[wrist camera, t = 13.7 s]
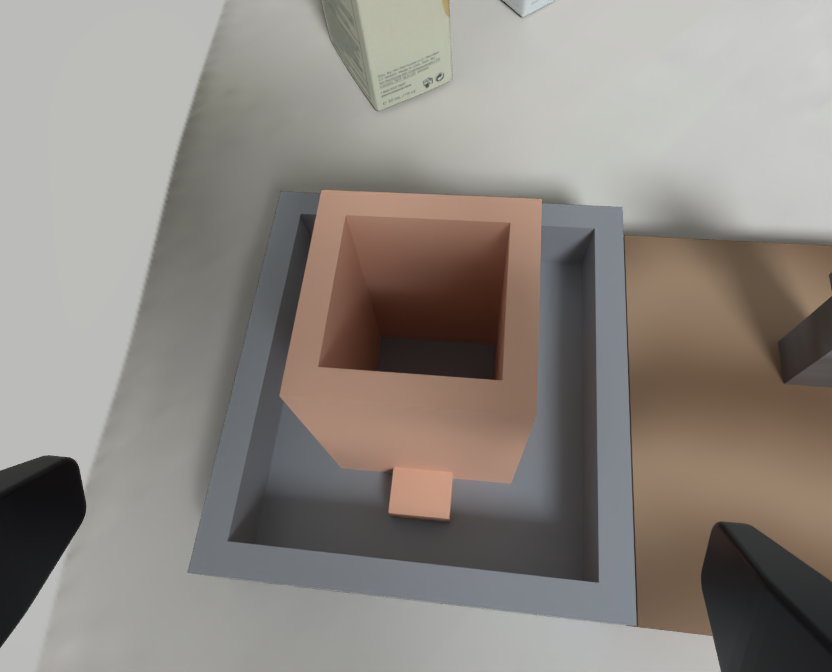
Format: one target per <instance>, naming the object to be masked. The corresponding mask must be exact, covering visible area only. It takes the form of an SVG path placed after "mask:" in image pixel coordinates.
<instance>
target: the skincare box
mask: <svg viewBox="0 0 832 672" xmlns="http://www.w3.org/2000/svg"><path fill="white" fill-rule="evenodd" d="M321 2H322V6H323V10H324V14H325V19H326V23H327V27H328V31H329V35H330V39H331V42H332V43H333V45H334V47H335V49H336V50H337V52H338V54H339V55H340V57H341V59H342V60H343V62H344V64H345V65H346V67H347V68H348V70H349V71H350V73H351V74H352V76H353V77H354V79H355V81H356V82H357V84H358V85H359V86H360V88H361V89H362V91H363V92H364V94H365V95H366V97H367V98H368V99H369V101H370V102H371V104H372V105H373V106H374V108H375V109H376V110H377V111H380V110H383V109H385V108H388V107H390V106H393V105H395V104H398V103H400V102H403V101H405V100H408V99H410V98H413V97H415V96H417V95H420V94H422V93H425V92H427V91H429V90H431V89H433V88H436V87H438V86H440V85H442V84H444V83H446V82H449V81H451V80H452V52H451V30H450V10H449V0H321Z"/></svg>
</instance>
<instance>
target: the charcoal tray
mask: <svg viewBox="0 0 832 672" xmlns="http://www.w3.org/2000/svg"><path fill="white" fill-rule="evenodd" d="M320 195H321V193H305V192H284V191H281V192H280V196H279V200H278V204H277V208H276V212H275V216H274V221H273V225H272V229H271V233H270V237H269V241H268V245H267V249H266V253H265V257H264V261H263V266H262V270H261V274H260V278H259V282H258V286H257V290H256V294H255V298H254V302H253V307H252V311H251V315H250V319H249V323H248V327H247V331H246V335H245V339H244V343H243V347H242V352H241V356H240V360H239V364H238V368H237V372H236V376H235V380H234V384H233V388H232V393H231V397H230V401H229V405H228V409H227V413H226V417H225V421H224V425H223V429H222V434H221V438H220V442H219V446H218V450H217V454H216V458H215V462H214V466H213V470H212V474H211V479H210V483H209V487H208V491H207V495H206V499H205V503H204V507H203V511H202V515H201V520H200V524H199V528H198V532H197V536H196V540H195V544H194V548H193V552H192V556H191V561H190V565H189V569H188V573H193V574H200V575H208V576H215V577H222V578H230V579H238V580H247V581H255V582H264V583H272V584H280V585H289V586H297V587H306V588H314V589H323V590H331V591H339V592H348V593H356V594H365V595H373V596H382V597H390V598H398V599H407V600H415V601H424V602H432V603H440V604H449V605H457V606H466V607H474V608H483V609H491V610H499V611H508V612H516V613H525V614H533V615H542V616H550V617H558V618H567V619H575V620H584V621H592V622H600V623H609V624H620V625H631V626H637V620H636V591H635V562H634V533H633V503H632V474H631V445H630V416H629V387H628V358H627V328H626V299H625V270H624V241H623V212H622V207H611V206H589V205H567V204H545V203H542V219H541V259H540V300H539V340H538V380H537V417H536V419H535V422H534V425H533V427H532V430H531V433H530V435H529V438H528V440H527V443H526V446H525V448H524V451H523V454H522V456H521V459H520V462H519V464H518V467H517V470H516V472H515V475H514V478H513V480H512V483H511V484H509V483H498V482H487V481H476V480H465V479H454V478H453V489H452V502H451V514H450V523H446V522H436V521H426V520H416V519H406V518H396V517H391V516H390V514H389V513H388V511H389V503H390V494H391V486H392V477H393V473H388V472H377V471H366V470H355V469H344V468H341V467H340V466H339V465H338V464H337V463H336V462H335V460H334V459H333V458H332V457H331V456H330V455H329V453H328V452H327V451H326V450H325V449H324V448H323V446H322V445H321V444H320V443H319V442H318V441H317V439H316V438H315V437H314V436H313V435H312V434H311V432H310V431H309V430H308V429H307V428H306V427H305V425H304V424H303V423H302V422H301V421H300V420H299V418H298V417H297V416H296V415H295V414H294V413H293V411H292V410H291V409H290V408H289V407H288V406H287V404H286V403H285V402H284V401H283V400H282V399H281V397H280V396H279V395H280V390H281V385H282V380H283V375H284V370H285V365H286V361H287V356H288V351H289V346H290V341H291V336H292V331H293V327H294V322H295V317H296V312H297V307H298V302H299V297H300V292H301V288H302V283H303V278H304V273H305V268H306V263H307V258H308V253H309V249H310V244H311V239H312V234H313V229H314V224H315V219H316V214H317V210H318V205H319V200H320ZM495 345H496V344H481V343H467V342H452V341H437V340H422V339H407V338H392V337H382V339H381V346H380V353H379V360H378V368H377V371H380V372H394V373H407V374H421V375H435V376H448V377H462V378H476V379H489V380H494V363H495Z"/></svg>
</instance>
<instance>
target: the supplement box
mask: <svg viewBox="0 0 832 672" xmlns="http://www.w3.org/2000/svg"><path fill="white" fill-rule="evenodd" d="M503 1H504V2H505V3H506V4H507V5H509V6H510V7H511V8H512V9H513V10H515V11H516V12H517V13H518V14H519V15H520V16H522V17H524V16H526V15H528V14H530V13H532V12H534V11H536V10H538V9H540V8H542V7H543V6H545V5H547V4H549V3H551V2H552V1H554V0H503Z"/></svg>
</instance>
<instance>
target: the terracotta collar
mask: <svg viewBox="0 0 832 672" xmlns="http://www.w3.org/2000/svg"><path fill="white" fill-rule="evenodd" d="M541 219H542V199H534V198H509V197H485V196H461V195H437V194H412V193H388V192H364V191H340V190H321V195H320V200H319V205H318V210H317V214H316V219H315V224H314V229H313V234H312V239H311V244H310V249H309V253H308V258H307V263H306V268H305V273H304V278H303V283H302V288H301V292H300V297H299V302H298V307H297V312H296V317H295V322H294V327H293V331H292V336H291V341H290V346H289V351H288V356H287V361H286V365H285V370H284V375H283V380H282V385H281V390H280V395H279V396H280V397H281V399H282V400H283V401H284V402H285V403H286V404H287V406H288V407H289V408H290V409H291V410H292V411H293V413H294V414H295V415H296V416H297V417H298V418H299V420H300V421H301V422H302V423H303V424H304V425H305V427H306V428H307V429H308V430H309V431H310V432H311V434H312V435H313V436H314V437H315V438H316V439H317V441H318V442H319V443H320V444H321V445H322V446H323V448H324V449H325V450H326V451H327V452H328V453H329V455H330V456H331V457H332V458H333V459H334V460H335V462H336V463H337V464H338V465H339V466H340V467H341V468H344V469H355V470H366V471H377V472H388V473H393V477H392V486H391V494H390V503H389V511H388V513H389V514H390V516H391V517H396V518H406V519H416V520H426V521H436V522H446V523H450V514H451V502H452V489H453V478H454V479H465V480H476V481H487V482H498V483H509V484H511V483H512V480H513V478H514V475H515V472H516V470H517V467H518V464H519V462H520V459H521V456H522V454H523V451H524V448H525V446H526V443H527V440H528V438H529V435H530V433H531V430H532V427H533V425H534V422H535V419H536V417H537V380H538V340H539V300H540V259H541ZM382 337H392V338H407V339H422V340H437V341H452V342H467V343H481V344H496V345H495V363H494V380H489V379H476V378H462V377H448V376H435V375H421V374H407V373H394V372H380V371H377V368H378V360H379V353H380V346H381V339H382Z"/></svg>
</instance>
